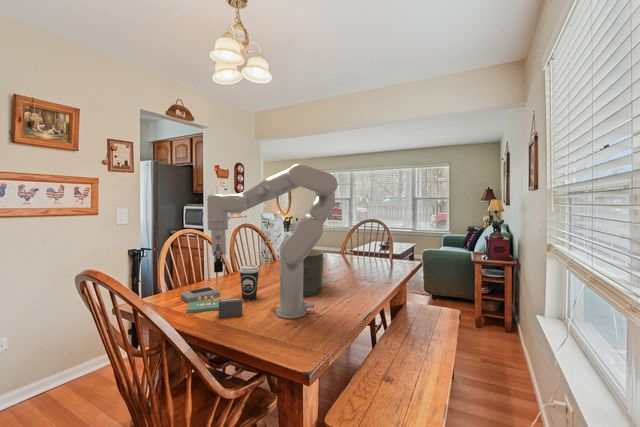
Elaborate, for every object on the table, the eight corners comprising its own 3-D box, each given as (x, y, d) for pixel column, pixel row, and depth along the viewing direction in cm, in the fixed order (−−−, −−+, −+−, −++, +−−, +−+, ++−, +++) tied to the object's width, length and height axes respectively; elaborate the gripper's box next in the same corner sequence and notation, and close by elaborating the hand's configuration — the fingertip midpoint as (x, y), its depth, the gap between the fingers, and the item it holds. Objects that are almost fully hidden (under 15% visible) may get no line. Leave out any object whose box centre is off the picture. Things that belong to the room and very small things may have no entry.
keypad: (180, 291, 142) (211, 285, 152) (180, 299, 142) (211, 292, 152) (188, 296, 135) (220, 289, 145) (188, 304, 135) (220, 297, 145)
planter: (319, 298, 144) (319, 256, 143) (274, 295, 148) (274, 254, 147) (325, 285, 166) (326, 249, 165) (286, 283, 169) (287, 248, 169)
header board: (222, 302, 137) (222, 291, 137) (222, 309, 128) (222, 298, 128) (189, 304, 133) (189, 294, 133) (186, 312, 123) (186, 301, 123)
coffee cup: (263, 297, 144) (263, 266, 143) (246, 302, 137) (246, 269, 136) (252, 293, 150) (252, 263, 150) (235, 297, 144) (235, 266, 143)
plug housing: (241, 312, 125) (241, 297, 125) (242, 315, 121) (242, 300, 121) (218, 314, 122) (218, 299, 122) (218, 317, 119) (218, 302, 118)
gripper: (228, 227, 111) (229, 273, 112) (227, 224, 127) (227, 264, 128) (206, 228, 109) (207, 275, 109) (208, 224, 125) (209, 265, 126)
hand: (218, 269), depth 119 cm, fingers open, 9 cm apart
